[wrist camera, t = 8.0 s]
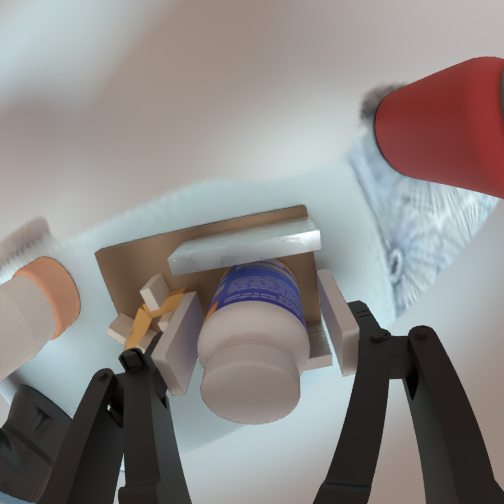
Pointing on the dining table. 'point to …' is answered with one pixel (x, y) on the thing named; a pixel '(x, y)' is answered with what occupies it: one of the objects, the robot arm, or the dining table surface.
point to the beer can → (449, 127)
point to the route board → (203, 282)
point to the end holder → (256, 249)
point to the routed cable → (147, 314)
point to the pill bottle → (254, 344)
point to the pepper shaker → (34, 311)
